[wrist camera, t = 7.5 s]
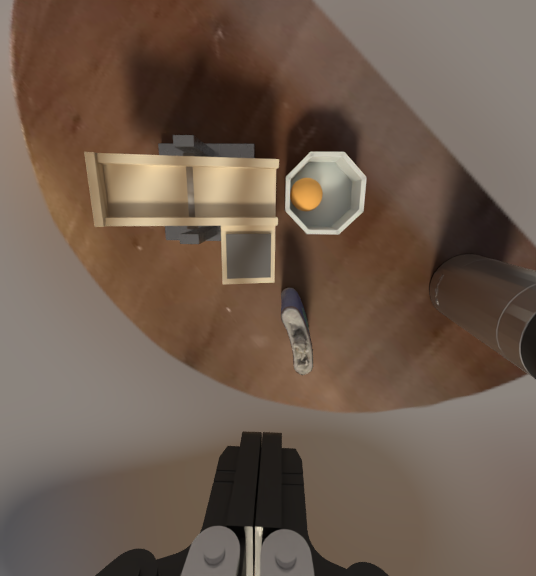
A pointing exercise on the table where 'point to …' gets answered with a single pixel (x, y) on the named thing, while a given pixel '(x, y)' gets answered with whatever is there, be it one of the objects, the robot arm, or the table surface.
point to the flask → (297, 330)
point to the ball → (306, 194)
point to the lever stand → (201, 150)
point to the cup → (328, 192)
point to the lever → (193, 202)
